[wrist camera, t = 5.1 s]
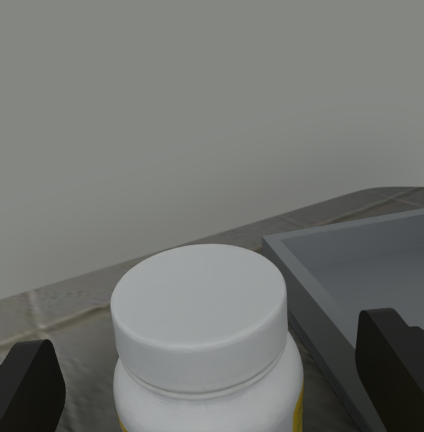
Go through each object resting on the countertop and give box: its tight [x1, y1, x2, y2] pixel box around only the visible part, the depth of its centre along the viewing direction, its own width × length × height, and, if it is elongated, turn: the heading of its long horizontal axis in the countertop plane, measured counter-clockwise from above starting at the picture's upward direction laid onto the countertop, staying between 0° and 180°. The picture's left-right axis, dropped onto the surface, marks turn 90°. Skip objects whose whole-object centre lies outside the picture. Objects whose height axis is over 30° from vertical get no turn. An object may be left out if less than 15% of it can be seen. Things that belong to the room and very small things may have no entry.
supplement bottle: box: [110, 244, 304, 432], centre depth 10 cm, size 5×5×8 cm
